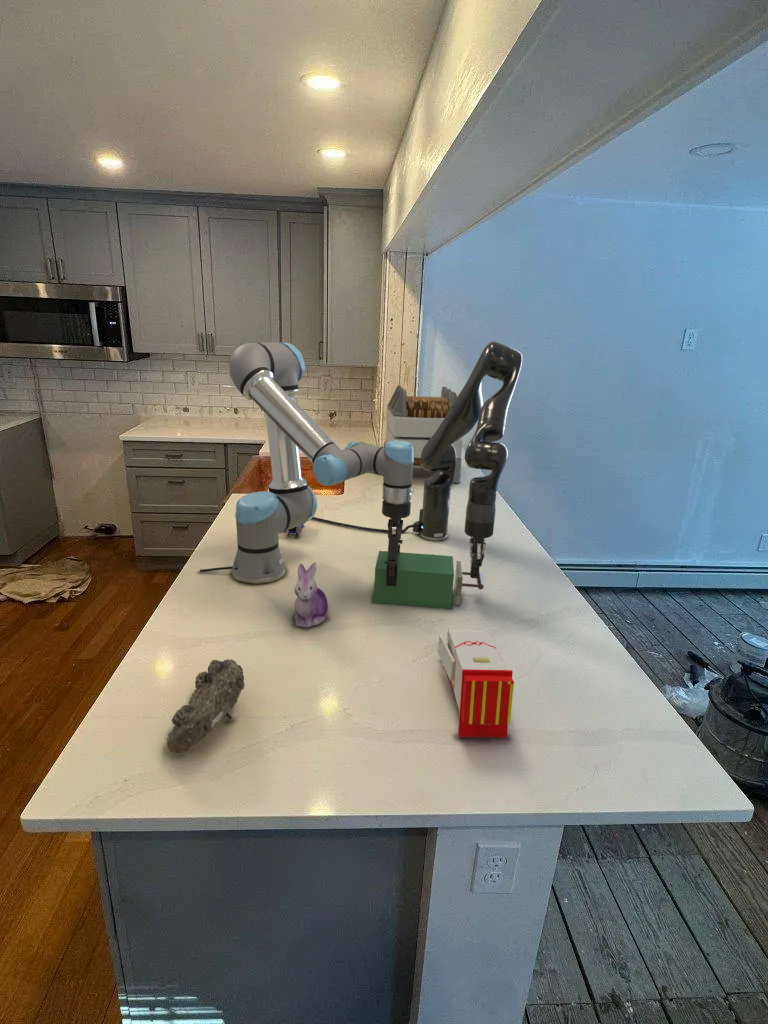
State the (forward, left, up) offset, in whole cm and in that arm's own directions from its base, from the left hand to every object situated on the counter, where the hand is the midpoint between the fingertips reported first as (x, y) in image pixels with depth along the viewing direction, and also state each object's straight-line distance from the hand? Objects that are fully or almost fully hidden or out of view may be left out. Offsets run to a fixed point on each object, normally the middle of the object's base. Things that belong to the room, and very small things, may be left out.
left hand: (392, 575), depth 156 cm
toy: (+25, -37, -6) cm, 45 cm away
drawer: (+12, +2, -5) cm, 13 cm away
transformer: (-13, +125, -6) cm, 125 cm away
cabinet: (+6, +1, -6) cm, 8 cm away
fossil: (-22, -59, -6) cm, 63 cm away
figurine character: (-42, +34, -6) cm, 54 cm away
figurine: (-17, -20, -6) cm, 26 cm away
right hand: (+22, +3, +1) cm, 22 cm away
